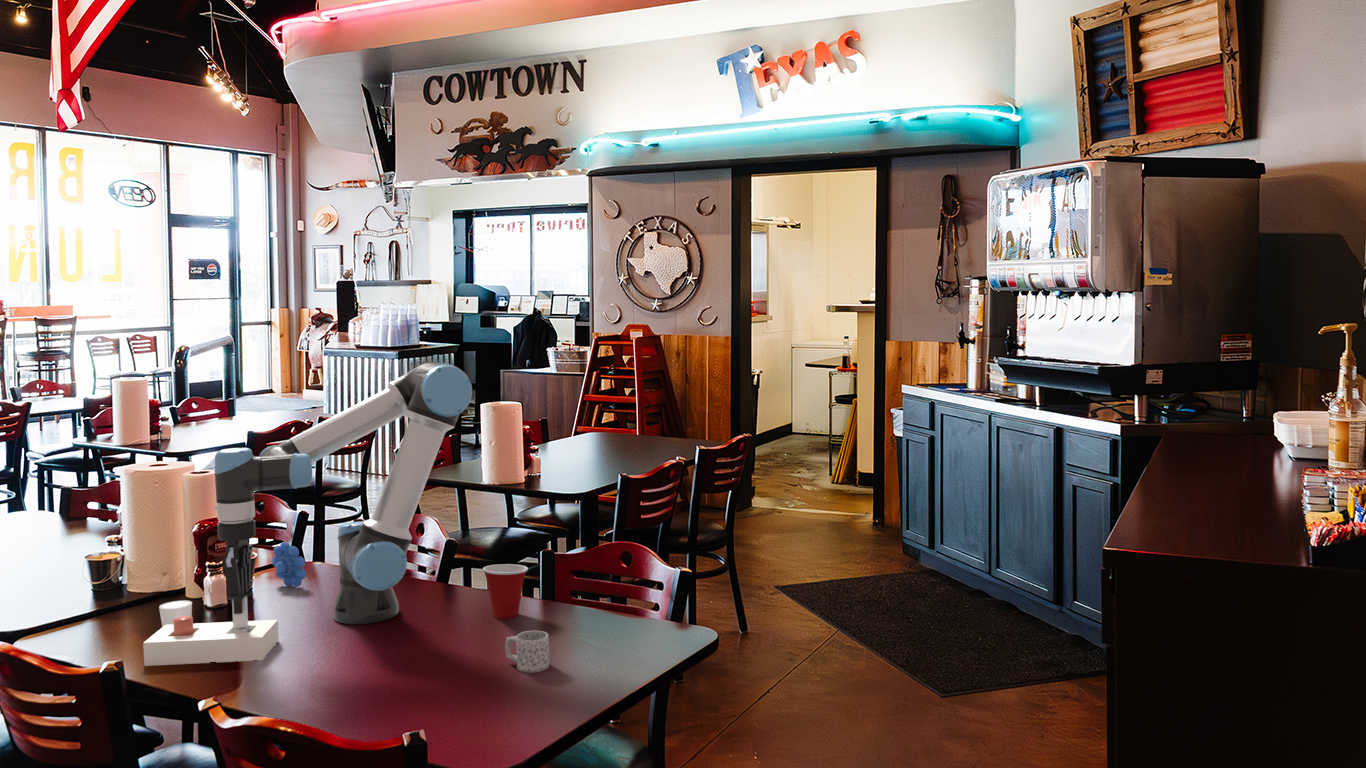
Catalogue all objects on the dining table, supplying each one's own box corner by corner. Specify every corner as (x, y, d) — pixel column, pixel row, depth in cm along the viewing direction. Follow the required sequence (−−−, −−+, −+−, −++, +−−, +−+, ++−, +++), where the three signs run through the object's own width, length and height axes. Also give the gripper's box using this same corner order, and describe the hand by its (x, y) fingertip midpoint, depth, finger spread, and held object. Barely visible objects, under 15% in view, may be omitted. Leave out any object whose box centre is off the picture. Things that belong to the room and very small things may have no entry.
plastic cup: (538, 612, 248) (537, 563, 247) (511, 624, 238) (509, 574, 237) (502, 606, 253) (501, 559, 252) (474, 618, 243) (473, 569, 242)
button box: (278, 641, 228) (277, 619, 227) (263, 660, 216) (261, 637, 215) (166, 646, 225) (165, 624, 225) (144, 665, 213) (143, 642, 213)
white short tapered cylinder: (180, 639, 230) (178, 609, 229) (153, 637, 231) (152, 607, 231) (200, 629, 237) (198, 600, 236) (174, 628, 238) (172, 599, 237)
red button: (196, 637, 222) (195, 615, 221) (190, 643, 218) (189, 621, 217) (178, 638, 221) (177, 616, 221) (171, 644, 217) (170, 621, 217)
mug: (555, 663, 212) (554, 632, 212) (538, 674, 206) (537, 642, 206) (515, 657, 217) (514, 627, 216) (497, 667, 210) (496, 636, 210)
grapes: (261, 587, 271) (259, 543, 270) (281, 581, 277) (279, 538, 276) (292, 593, 266) (290, 548, 265) (312, 586, 272) (310, 542, 271)
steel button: (254, 646, 223) (253, 624, 223) (248, 652, 219) (247, 629, 219) (236, 647, 223) (235, 625, 222) (230, 653, 219) (229, 630, 219)
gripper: (228, 514, 225) (232, 618, 227) (207, 527, 212) (212, 637, 214) (263, 513, 226) (267, 616, 228) (244, 526, 213) (249, 635, 215)
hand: (240, 626), depth 221 cm, fingers closed
